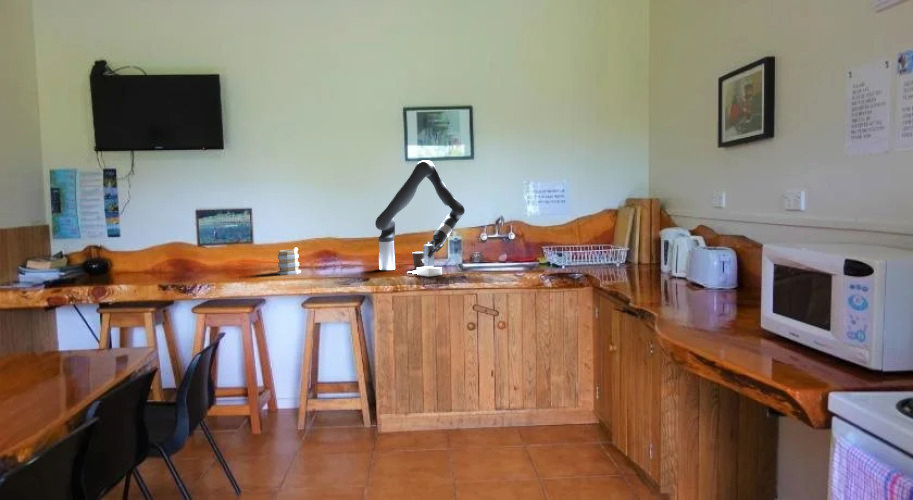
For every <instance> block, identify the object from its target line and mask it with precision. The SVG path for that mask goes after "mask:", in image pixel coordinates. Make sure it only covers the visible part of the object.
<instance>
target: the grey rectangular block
mask: <svg viewBox="0 0 913 500" xmlns="http://www.w3.org/2000/svg"><path fill="white" fill-rule="evenodd" d="M432 246H433V245H431V244H428V245H426V244H423V246H422V247H423V252H424V266H425V267H431V266H433V267H435V253H433V255H432V256H431V258H429V257H428V256H427V255H428V254H429V252H430V251H431V249H432V248H433V247H432Z"/></svg>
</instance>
